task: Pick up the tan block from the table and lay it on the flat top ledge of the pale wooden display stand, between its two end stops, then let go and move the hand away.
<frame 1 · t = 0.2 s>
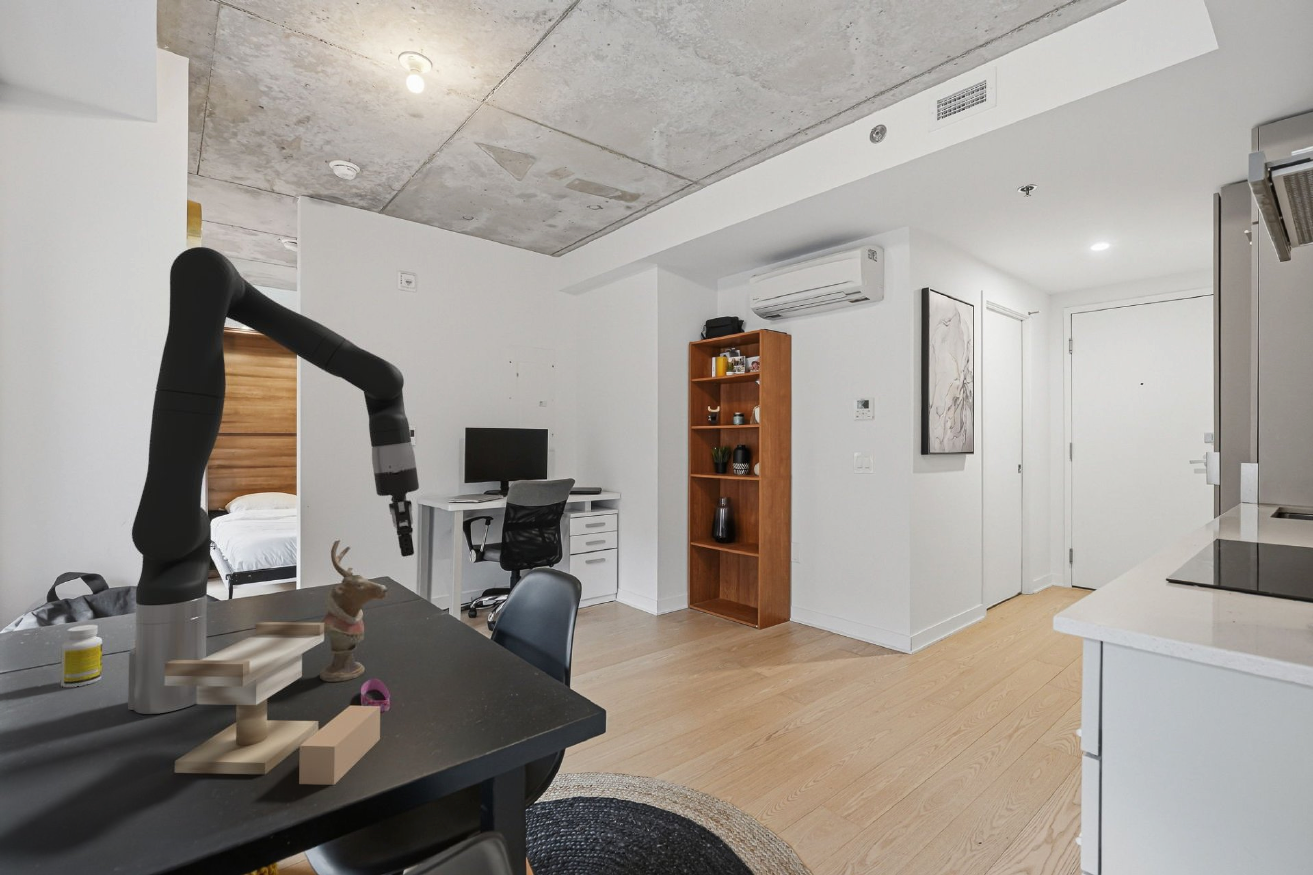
hand: (406, 551, 118), 22 cm above the table, tool pointing down, fingers open, 8 cm apart
headband: (374, 703, 103), on the table
decorative bust: (349, 676, 114), on the table
tan block: (342, 761, 83), on the table
supplement bottle: (81, 683, 110), on the table
display stand: (251, 750, 86), on the table
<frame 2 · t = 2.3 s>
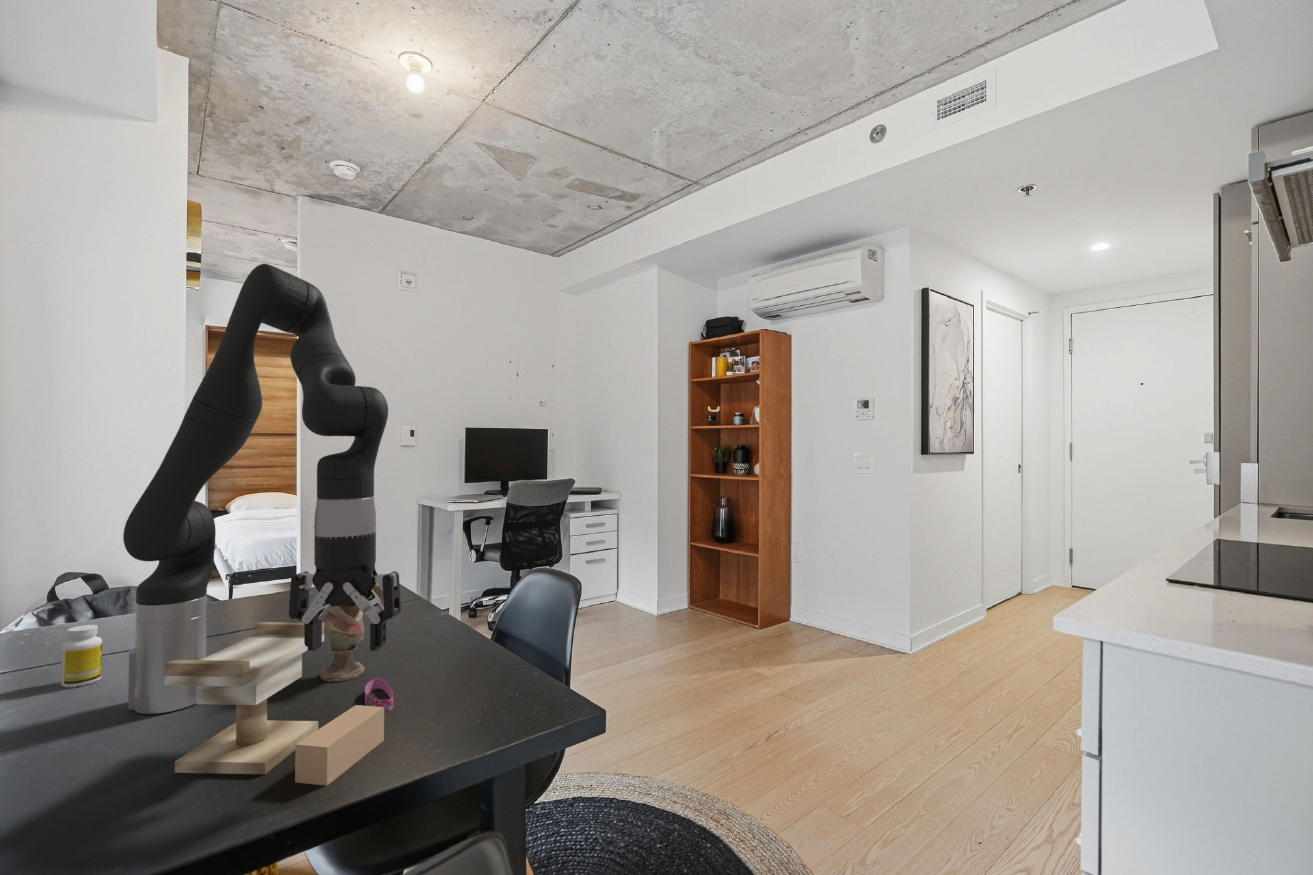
hand: (345, 649, 84), 15 cm above the table, tool pointing down, fingers open, 8 cm apart
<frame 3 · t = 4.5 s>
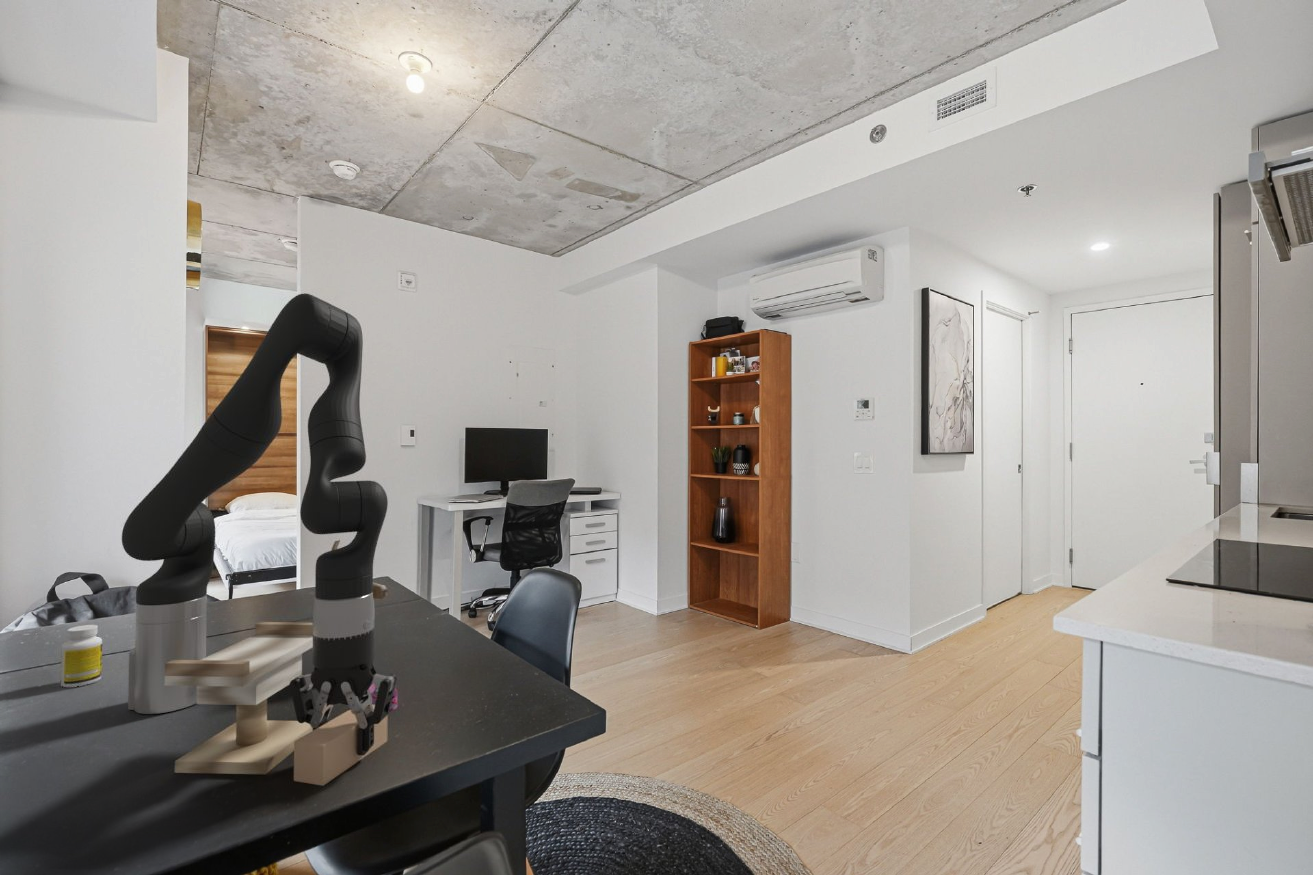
hand: (343, 751, 84), 1 cm above the table, tool pointing down, fingers closed on tan block, 5 cm apart
tan block: (343, 759, 84), on the table, touching gripper
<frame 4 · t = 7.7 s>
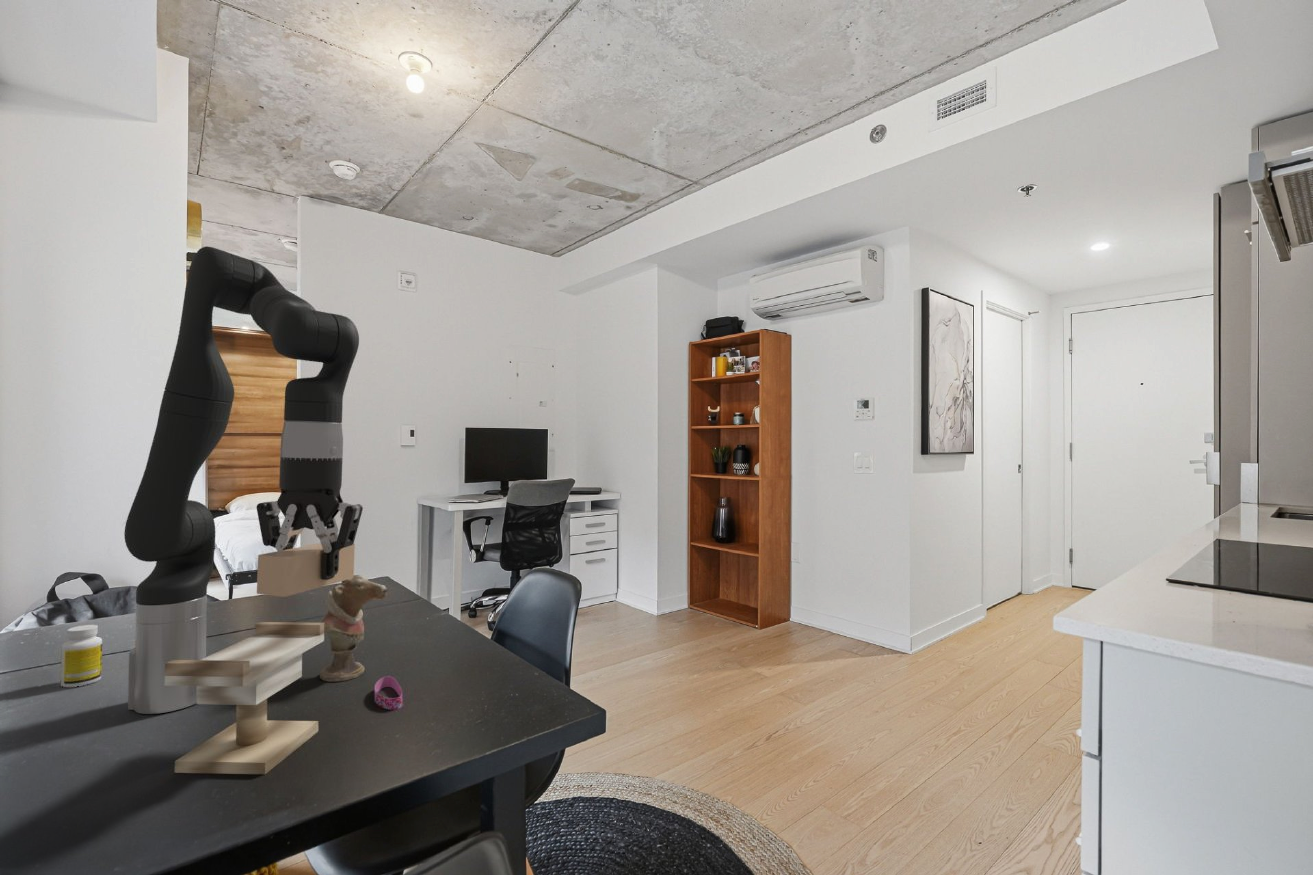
hand: (307, 577, 85), 25 cm above the table, tool pointing down, fingers closed on tan block, 5 cm apart
tan block: (308, 585, 85), point 23 cm above the table, touching gripper
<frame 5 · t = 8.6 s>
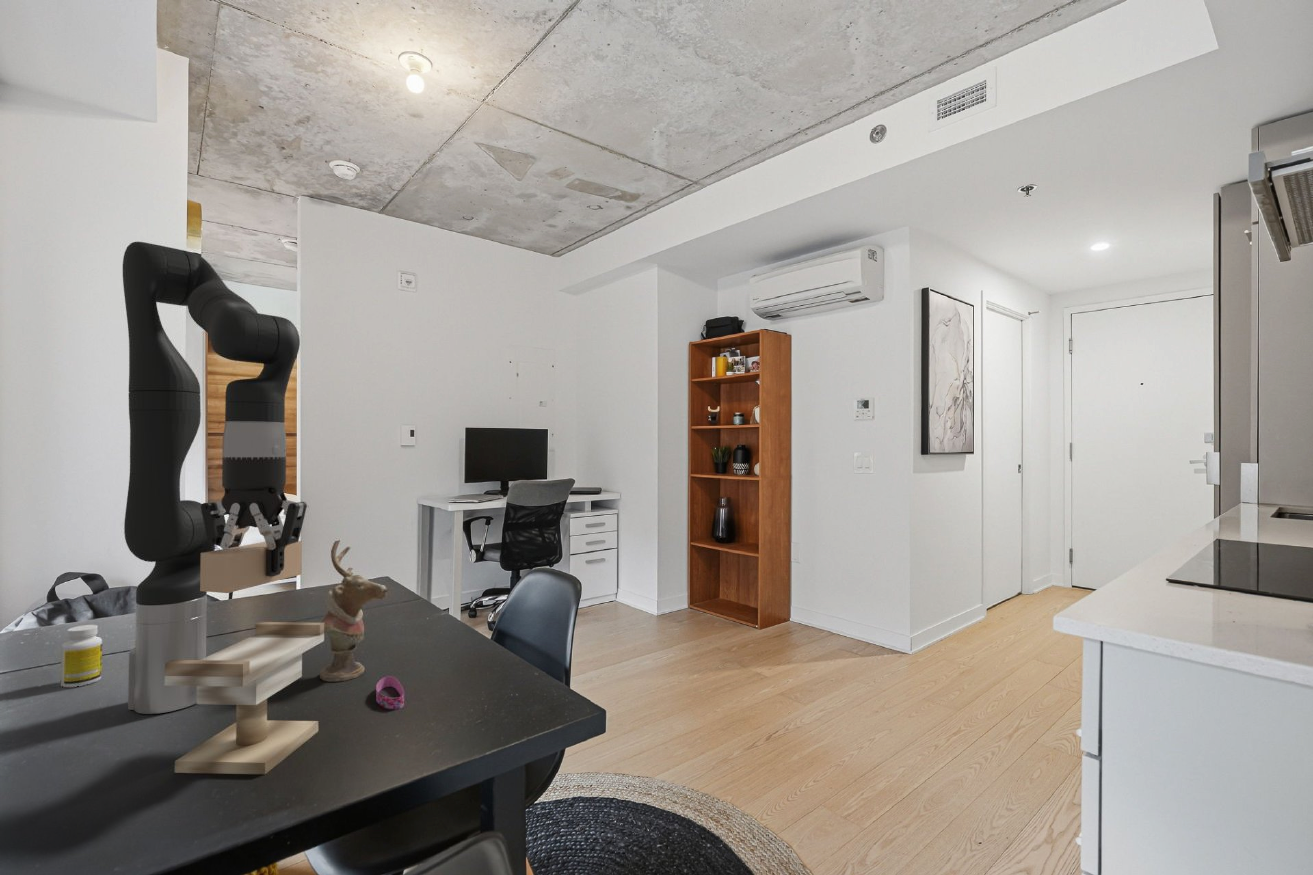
hand: (253, 574, 86), 25 cm above the table, tool pointing down, fingers closed on tan block, 5 cm apart
tan block: (253, 582, 86), point 23 cm above the table, touching gripper
when the fingers open (16 cm above the table, at t = 10.9 s): tan block drops 1 cm, resting on display stand.
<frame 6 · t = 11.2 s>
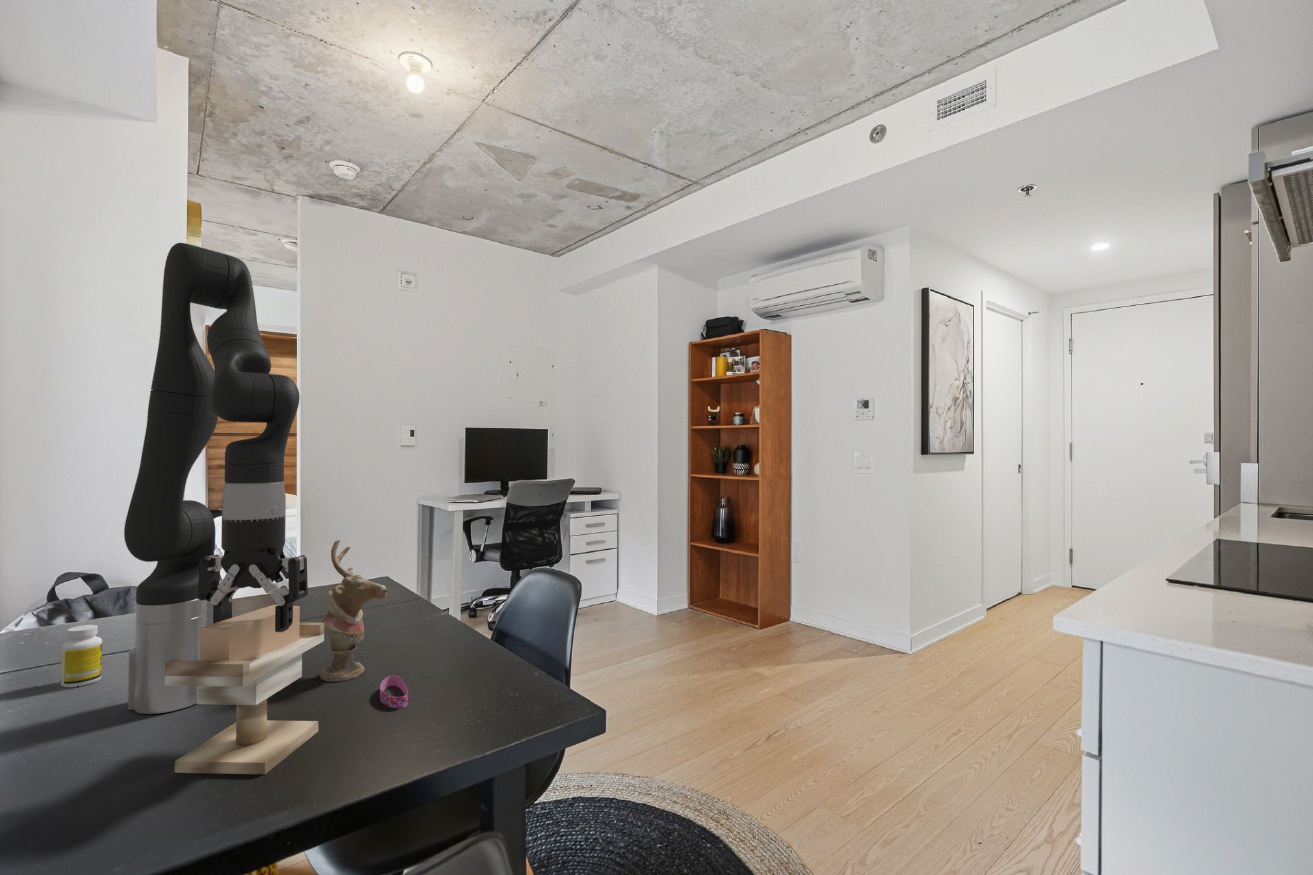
hand: (252, 630, 86), 17 cm above the table, tool pointing down, fingers open, 8 cm apart
tan block: (252, 652, 86), point 14 cm above the table, touching display stand
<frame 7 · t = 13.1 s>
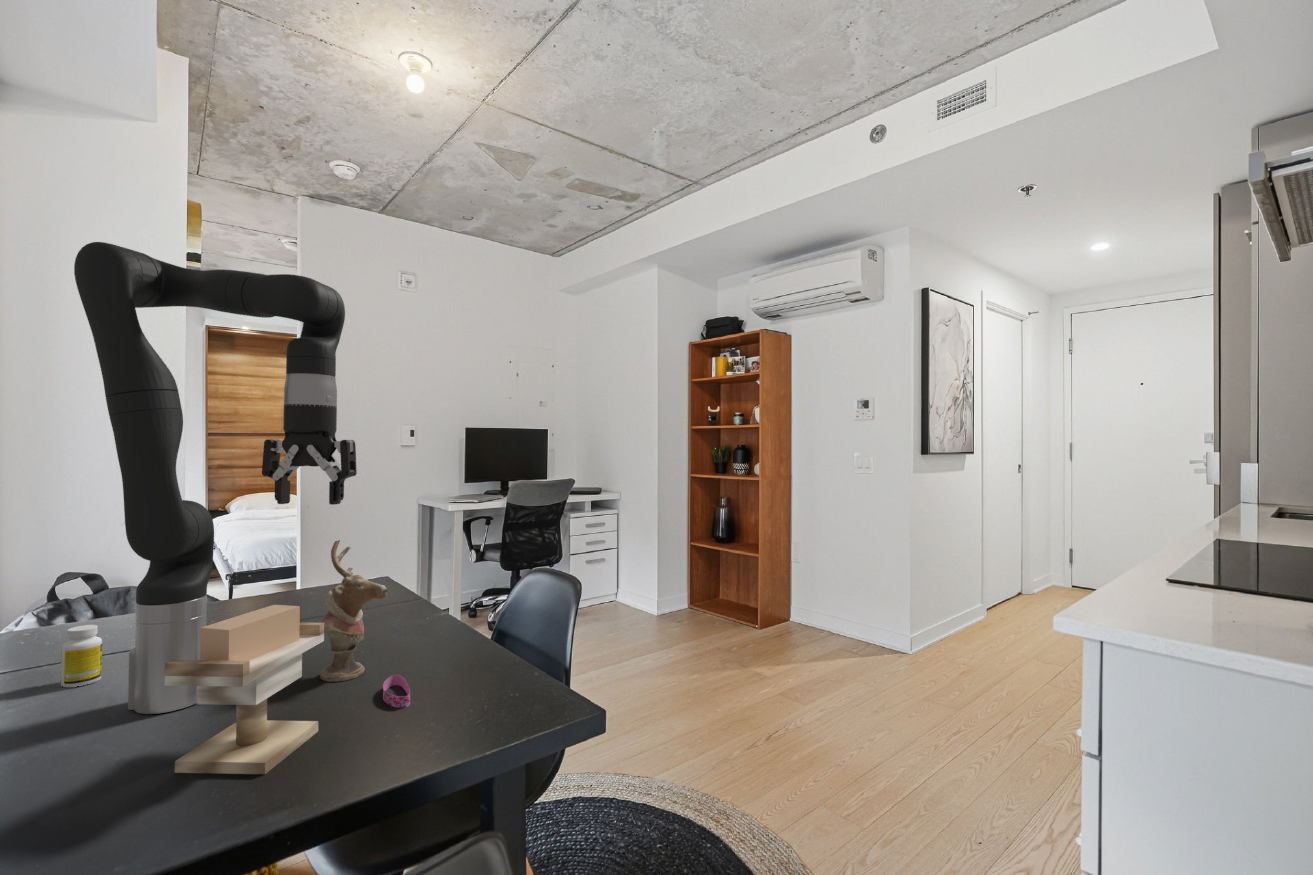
hand: (309, 503, 99), 33 cm above the table, tool pointing down, fingers open, 8 cm apart
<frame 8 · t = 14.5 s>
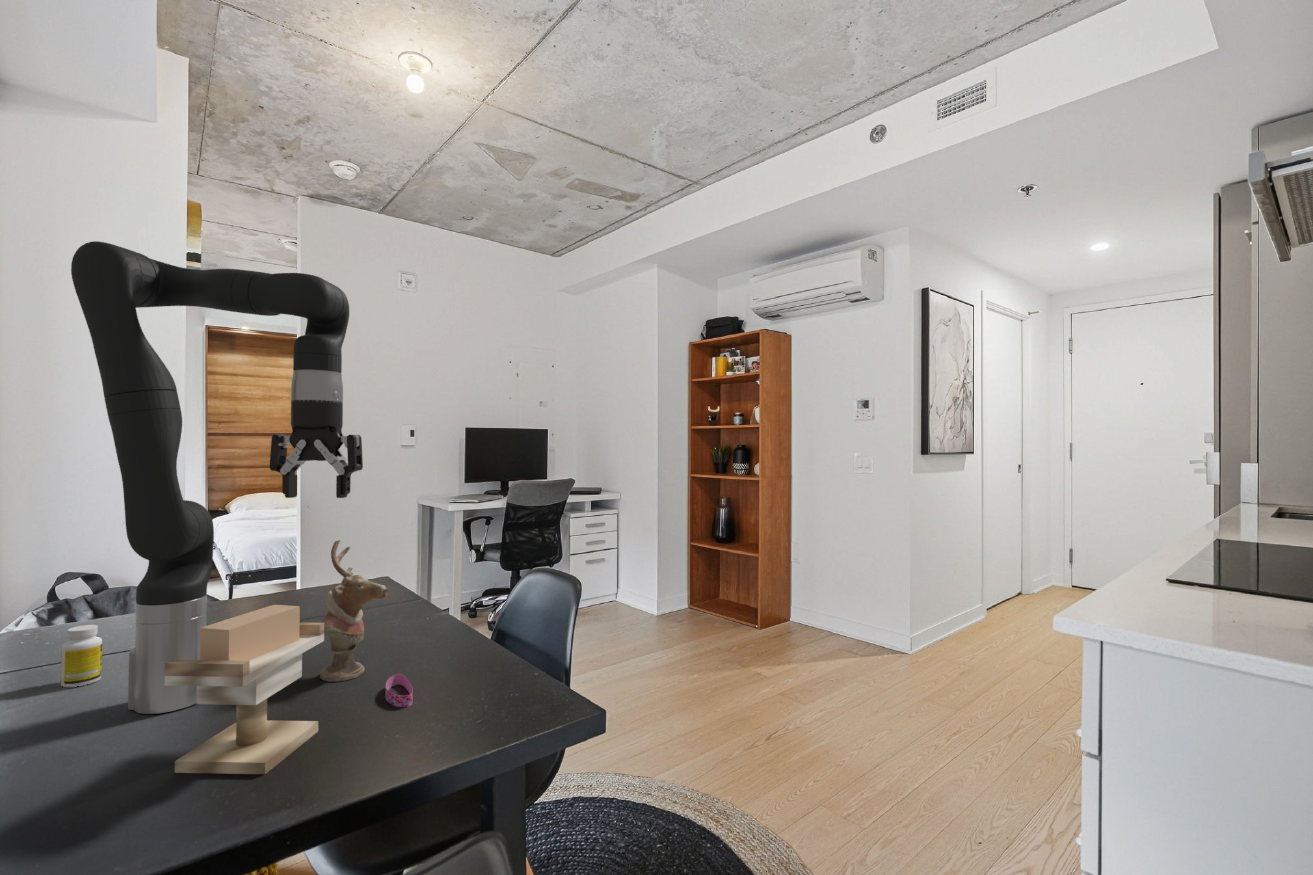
hand: (316, 497, 101), 34 cm above the table, tool pointing down, fingers open, 8 cm apart
at the end: tan block inside the target area on the display stand (0.1 cm from its centre), point 13.7 cm above the display stand's base; the gripper is holding nothing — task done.
